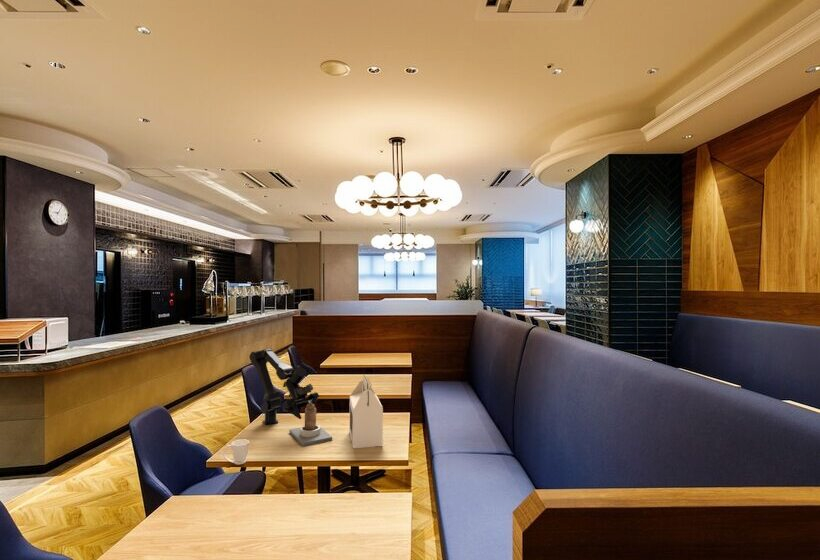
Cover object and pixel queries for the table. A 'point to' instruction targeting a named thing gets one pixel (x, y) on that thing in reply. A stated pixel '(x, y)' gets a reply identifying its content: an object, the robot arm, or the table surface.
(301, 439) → the caddy board
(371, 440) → the gable box
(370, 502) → the table surface
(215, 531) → the table surface
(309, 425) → the pepper mill
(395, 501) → the table surface
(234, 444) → the cup
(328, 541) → the table surface
